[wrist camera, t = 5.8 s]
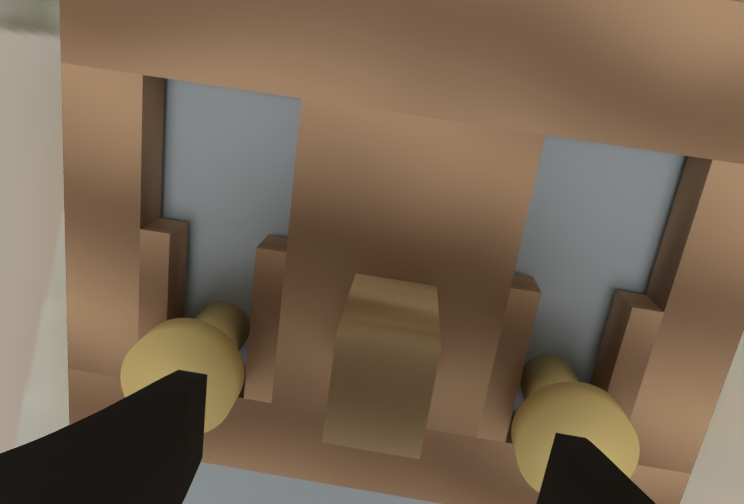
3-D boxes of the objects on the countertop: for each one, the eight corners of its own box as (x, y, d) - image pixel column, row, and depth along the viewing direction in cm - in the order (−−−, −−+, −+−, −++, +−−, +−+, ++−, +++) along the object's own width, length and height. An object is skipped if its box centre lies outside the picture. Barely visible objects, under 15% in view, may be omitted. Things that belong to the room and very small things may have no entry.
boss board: (588, 618, 24) (633, 762, 19) (112, 533, 24) (34, 650, 19) (777, 54, 17) (924, 45, 12) (115, -40, 18) (-5, -84, 13)
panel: (649, 511, 20) (727, 661, 15) (92, 416, 21) (-16, 527, 16) (820, 23, 15) (1022, -4, 10) (88, -80, 16) (-71, -153, 11)
